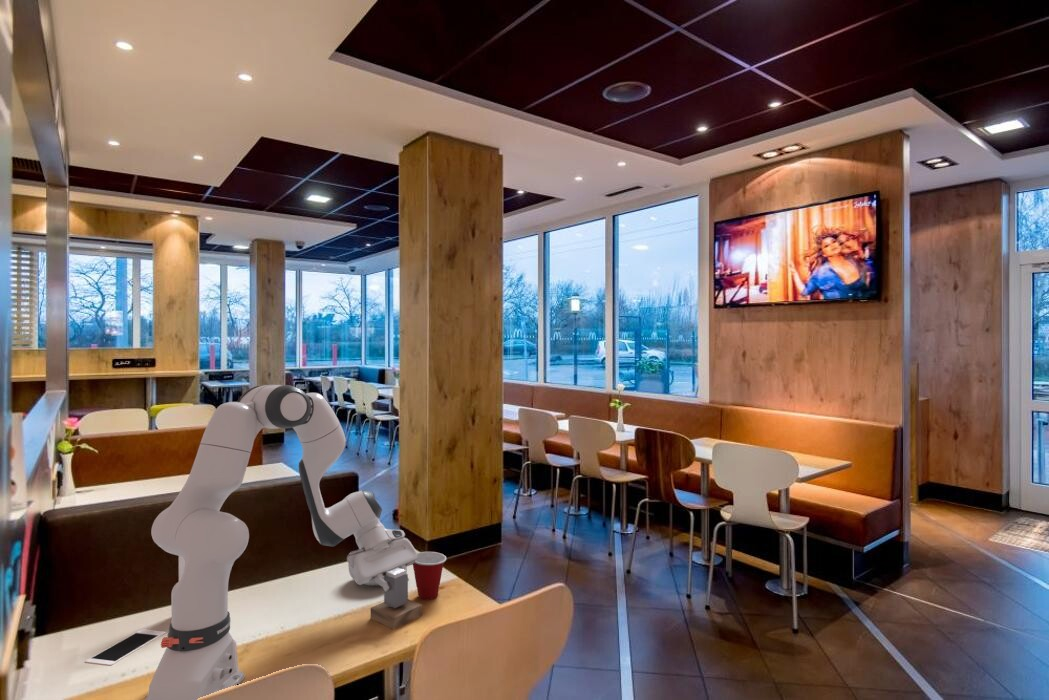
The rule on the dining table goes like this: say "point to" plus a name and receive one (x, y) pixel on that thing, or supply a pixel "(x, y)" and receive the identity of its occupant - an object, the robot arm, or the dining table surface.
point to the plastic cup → (428, 574)
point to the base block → (396, 614)
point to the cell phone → (125, 647)
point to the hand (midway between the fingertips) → (397, 586)
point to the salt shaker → (396, 587)
